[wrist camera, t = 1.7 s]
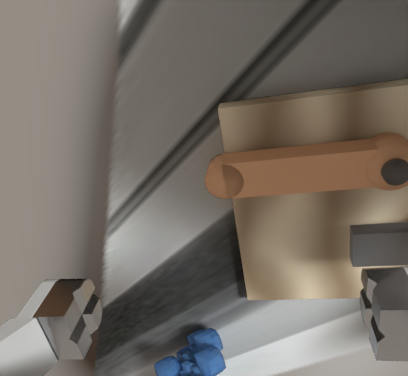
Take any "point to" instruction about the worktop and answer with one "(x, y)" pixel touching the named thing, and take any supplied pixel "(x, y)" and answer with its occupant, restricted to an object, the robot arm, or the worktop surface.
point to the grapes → (195, 357)
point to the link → (305, 168)
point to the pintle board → (319, 194)
